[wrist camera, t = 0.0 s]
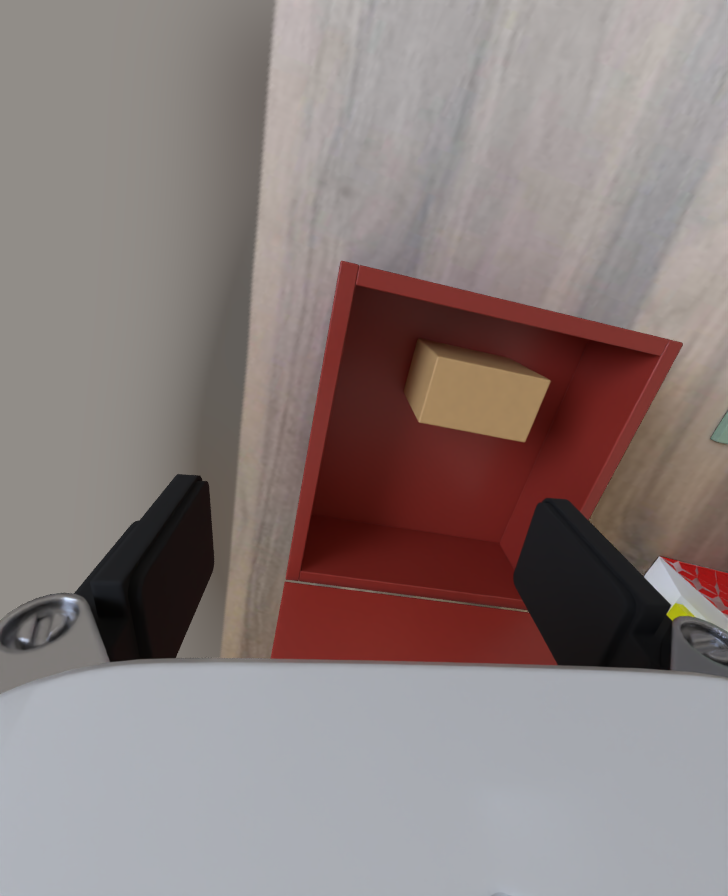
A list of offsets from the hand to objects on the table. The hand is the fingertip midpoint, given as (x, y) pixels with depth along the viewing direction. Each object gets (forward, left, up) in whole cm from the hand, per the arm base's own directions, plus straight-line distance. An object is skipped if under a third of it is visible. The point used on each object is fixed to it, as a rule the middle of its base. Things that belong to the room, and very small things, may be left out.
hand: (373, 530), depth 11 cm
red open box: (-2, +6, -16) cm, 17 cm away
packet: (-5, +4, -15) cm, 16 cm away
